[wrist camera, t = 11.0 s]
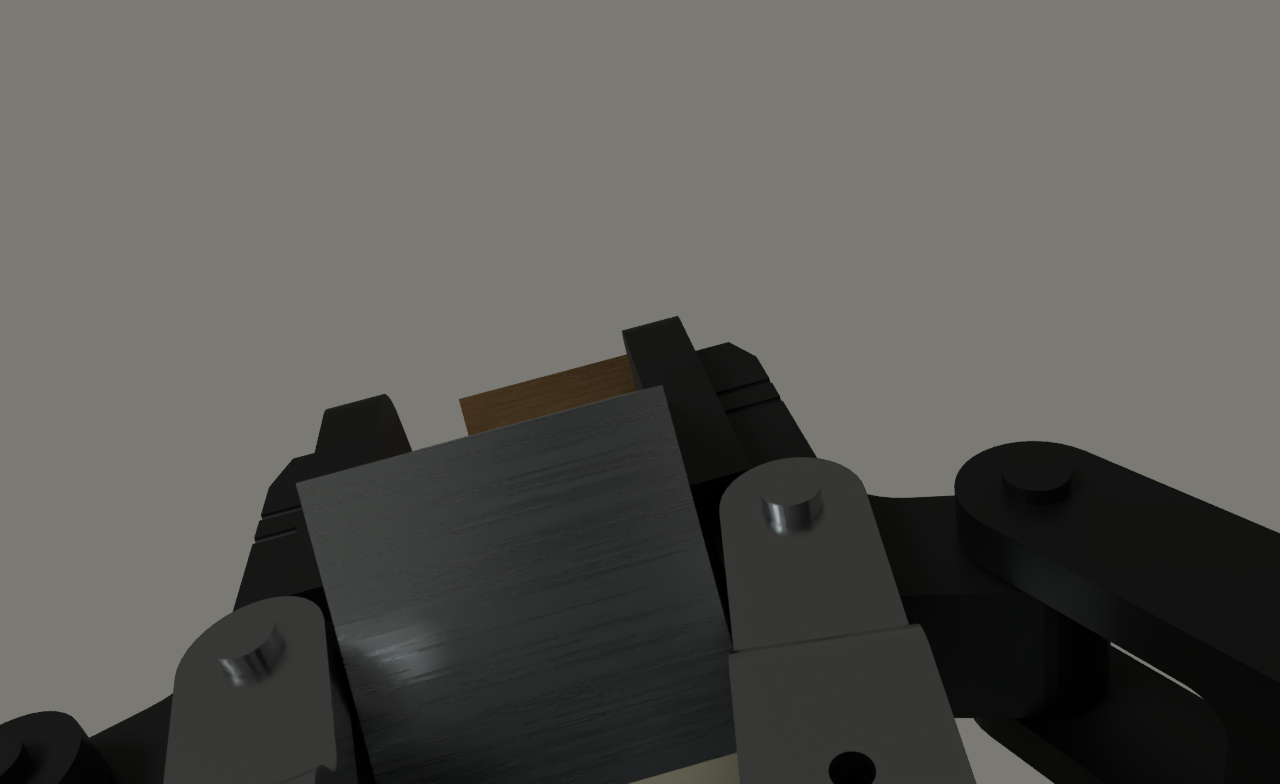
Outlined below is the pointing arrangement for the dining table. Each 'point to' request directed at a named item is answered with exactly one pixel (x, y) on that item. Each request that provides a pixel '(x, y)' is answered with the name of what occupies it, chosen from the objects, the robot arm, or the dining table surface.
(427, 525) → the block
